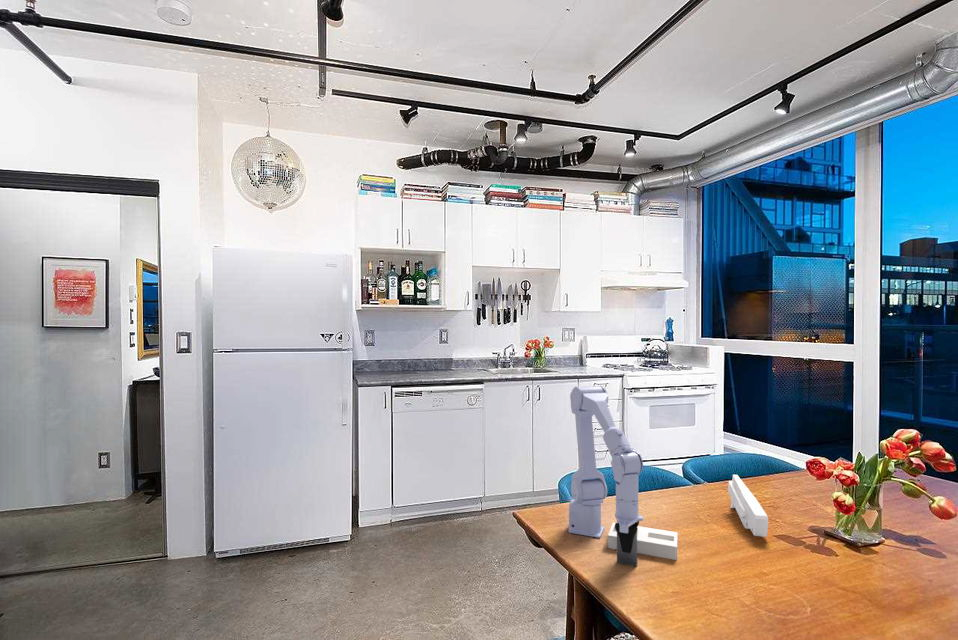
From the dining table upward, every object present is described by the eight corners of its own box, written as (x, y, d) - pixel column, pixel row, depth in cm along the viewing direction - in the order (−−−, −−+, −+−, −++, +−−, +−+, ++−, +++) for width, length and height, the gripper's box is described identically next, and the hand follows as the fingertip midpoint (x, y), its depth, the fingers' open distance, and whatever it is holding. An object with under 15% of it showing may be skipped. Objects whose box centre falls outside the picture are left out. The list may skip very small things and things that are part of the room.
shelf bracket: (741, 508, 165) (743, 475, 163) (769, 556, 141) (772, 518, 139) (724, 507, 166) (726, 474, 164) (749, 555, 142) (752, 516, 140)
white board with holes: (607, 547, 135) (607, 535, 135) (613, 533, 145) (612, 522, 145) (676, 560, 128) (676, 546, 128) (677, 544, 137) (677, 532, 137)
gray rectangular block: (616, 562, 127) (616, 528, 127) (617, 559, 128) (617, 525, 129) (636, 566, 125) (636, 531, 125) (637, 563, 126) (637, 528, 127)
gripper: (640, 510, 119) (640, 565, 118) (645, 491, 132) (645, 541, 132) (611, 505, 121) (611, 559, 121) (618, 488, 135) (618, 537, 134)
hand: (627, 550), depth 127 cm, fingers closed on gray rectangular block, 2 cm apart
